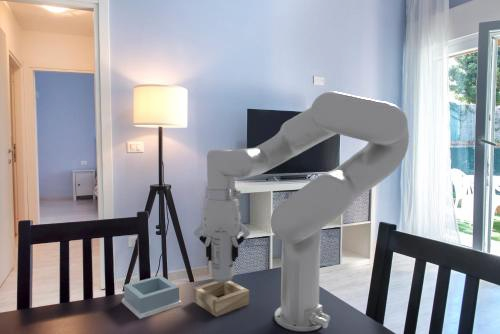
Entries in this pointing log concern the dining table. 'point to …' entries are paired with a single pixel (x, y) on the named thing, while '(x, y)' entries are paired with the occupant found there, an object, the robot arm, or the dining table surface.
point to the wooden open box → (218, 306)
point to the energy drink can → (221, 256)
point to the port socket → (151, 296)
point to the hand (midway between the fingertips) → (222, 259)
